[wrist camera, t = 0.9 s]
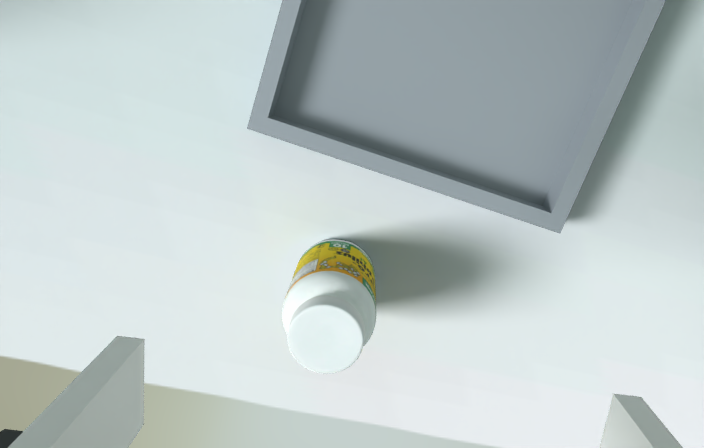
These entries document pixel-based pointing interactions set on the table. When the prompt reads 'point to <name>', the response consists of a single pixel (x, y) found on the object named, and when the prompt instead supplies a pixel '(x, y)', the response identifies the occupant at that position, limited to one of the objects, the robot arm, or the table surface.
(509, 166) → the slate tray
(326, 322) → the supplement bottle
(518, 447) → the table surface
